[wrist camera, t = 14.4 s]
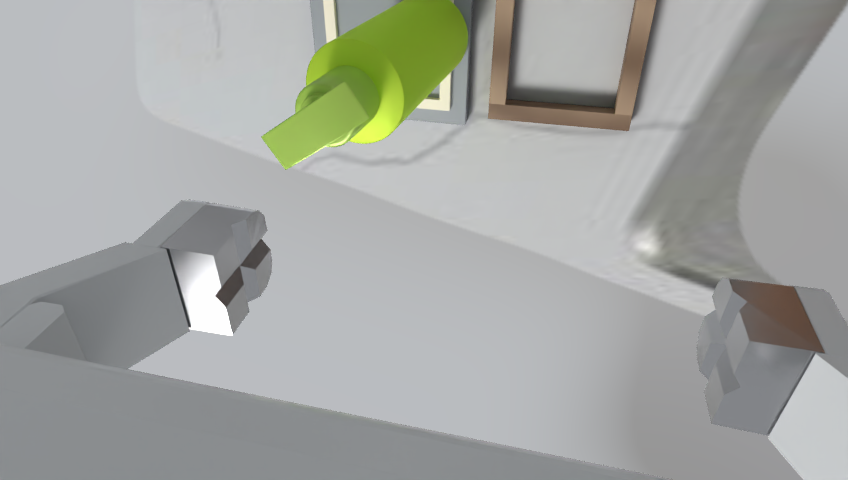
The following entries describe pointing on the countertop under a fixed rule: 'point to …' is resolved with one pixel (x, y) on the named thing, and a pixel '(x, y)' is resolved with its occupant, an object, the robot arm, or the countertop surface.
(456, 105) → the slate board
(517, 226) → the countertop surface
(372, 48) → the soap dispenser
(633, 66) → the walnut template frame
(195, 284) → the robot arm
